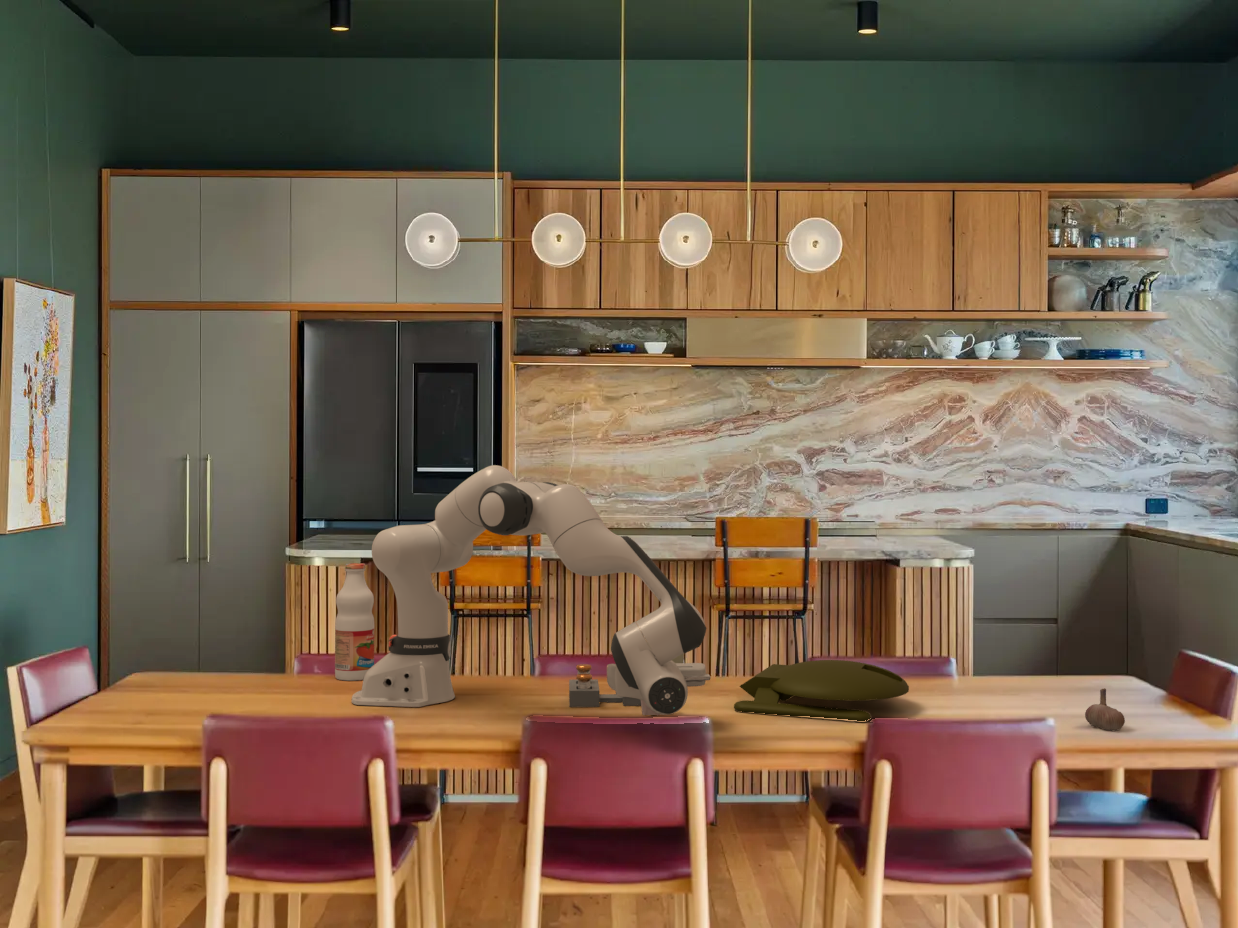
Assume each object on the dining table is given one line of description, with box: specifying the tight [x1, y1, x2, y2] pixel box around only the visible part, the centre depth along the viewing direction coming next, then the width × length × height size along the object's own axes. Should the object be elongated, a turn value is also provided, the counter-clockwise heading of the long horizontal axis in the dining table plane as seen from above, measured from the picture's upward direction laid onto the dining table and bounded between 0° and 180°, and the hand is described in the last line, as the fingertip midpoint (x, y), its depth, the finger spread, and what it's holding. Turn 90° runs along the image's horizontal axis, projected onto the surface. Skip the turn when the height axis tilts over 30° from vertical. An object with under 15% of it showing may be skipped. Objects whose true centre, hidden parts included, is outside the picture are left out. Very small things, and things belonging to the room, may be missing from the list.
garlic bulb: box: [1084, 688, 1126, 731], centre depth 220 cm, size 8×7×8 cm
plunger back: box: [575, 663, 592, 674], centre depth 247 cm, size 3×3×6 cm
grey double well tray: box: [568, 678, 641, 708], centre depth 245 cm, size 23×13×4 cm, turn 93°
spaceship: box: [733, 659, 910, 721], centre depth 242 cm, size 35×31×10 cm
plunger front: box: [576, 673, 593, 689], centre depth 241 cm, size 3×3×6 cm
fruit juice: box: [334, 562, 375, 682], centre depth 271 cm, size 9×9×28 cm
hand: (653, 667), depth 230 cm, fingers open, 8 cm apart
